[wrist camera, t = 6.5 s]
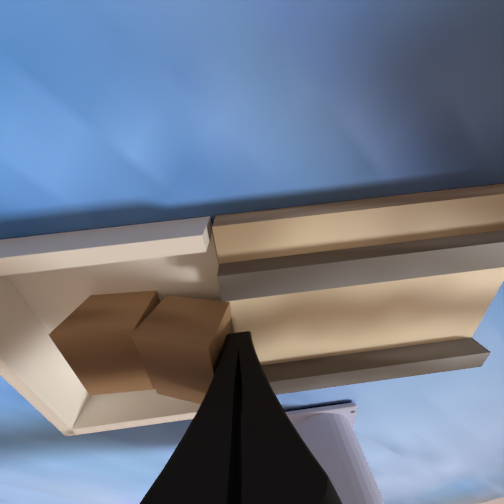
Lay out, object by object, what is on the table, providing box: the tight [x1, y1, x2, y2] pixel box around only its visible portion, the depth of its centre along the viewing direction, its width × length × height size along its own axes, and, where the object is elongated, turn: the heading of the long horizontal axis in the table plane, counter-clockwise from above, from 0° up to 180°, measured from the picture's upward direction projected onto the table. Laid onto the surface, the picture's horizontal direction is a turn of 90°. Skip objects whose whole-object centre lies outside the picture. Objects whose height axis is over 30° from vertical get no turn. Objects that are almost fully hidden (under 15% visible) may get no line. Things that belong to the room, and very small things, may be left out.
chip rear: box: [49, 290, 160, 395], centre depth 12 cm, size 5×4×3 cm
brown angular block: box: [131, 295, 233, 404], centre depth 11 cm, size 5×4×3 cm
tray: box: [0, 216, 222, 436], centre depth 12 cm, size 14×13×3 cm
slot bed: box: [212, 183, 504, 395], centre depth 13 cm, size 14×17×3 cm
